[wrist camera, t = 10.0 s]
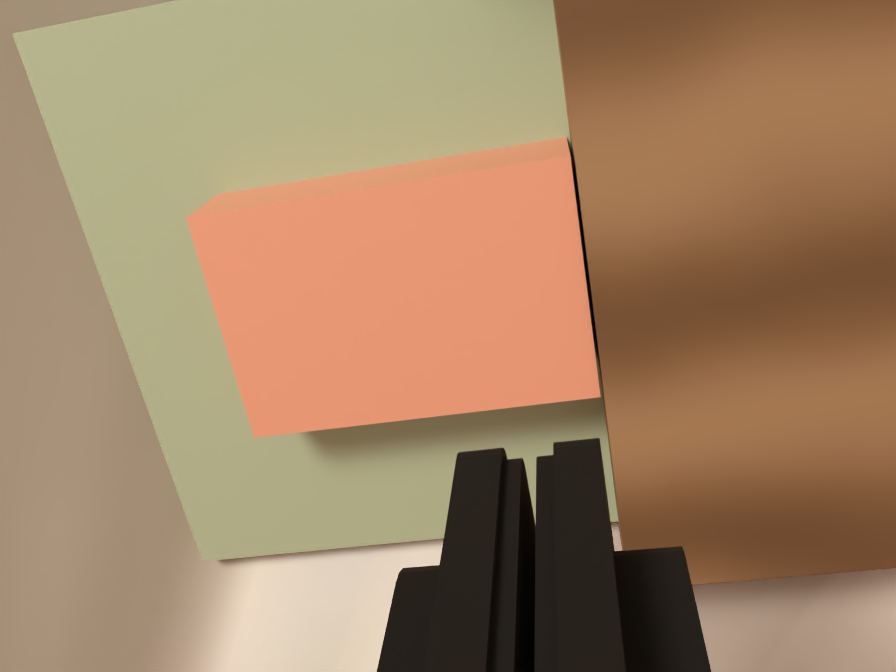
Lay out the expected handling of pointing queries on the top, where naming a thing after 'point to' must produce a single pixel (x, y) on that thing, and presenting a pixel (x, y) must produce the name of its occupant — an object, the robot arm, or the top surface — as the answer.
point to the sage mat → (275, 162)
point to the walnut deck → (742, 273)
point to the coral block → (403, 290)
